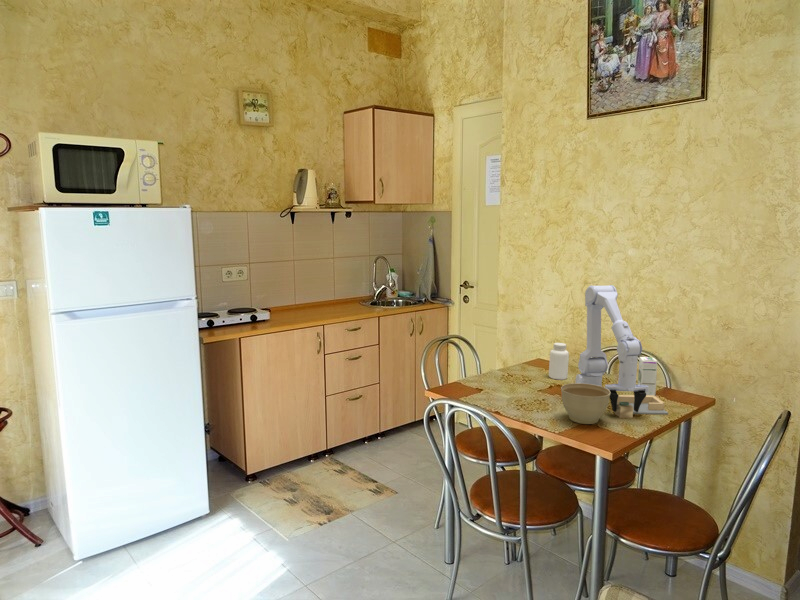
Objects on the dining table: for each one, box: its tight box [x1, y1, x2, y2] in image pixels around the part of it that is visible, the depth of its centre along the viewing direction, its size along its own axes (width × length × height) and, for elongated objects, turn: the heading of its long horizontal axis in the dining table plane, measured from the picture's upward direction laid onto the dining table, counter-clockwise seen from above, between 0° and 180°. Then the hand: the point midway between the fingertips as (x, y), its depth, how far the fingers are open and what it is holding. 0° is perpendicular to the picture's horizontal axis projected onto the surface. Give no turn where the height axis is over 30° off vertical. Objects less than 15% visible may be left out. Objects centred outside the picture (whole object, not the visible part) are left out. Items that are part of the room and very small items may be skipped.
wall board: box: [617, 394, 669, 415], centre depth 204 cm, size 14×12×3 cm
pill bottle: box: [548, 342, 570, 381], centre depth 243 cm, size 8×8×15 cm
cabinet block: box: [613, 402, 634, 419], centre depth 197 cm, size 4×4×5 cm
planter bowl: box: [560, 382, 611, 425], centre depth 192 cm, size 16×16×11 cm
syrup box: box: [637, 356, 658, 396], centre depth 221 cm, size 6×6×14 cm
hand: (625, 410), depth 197 cm, fingers open, 7 cm apart
